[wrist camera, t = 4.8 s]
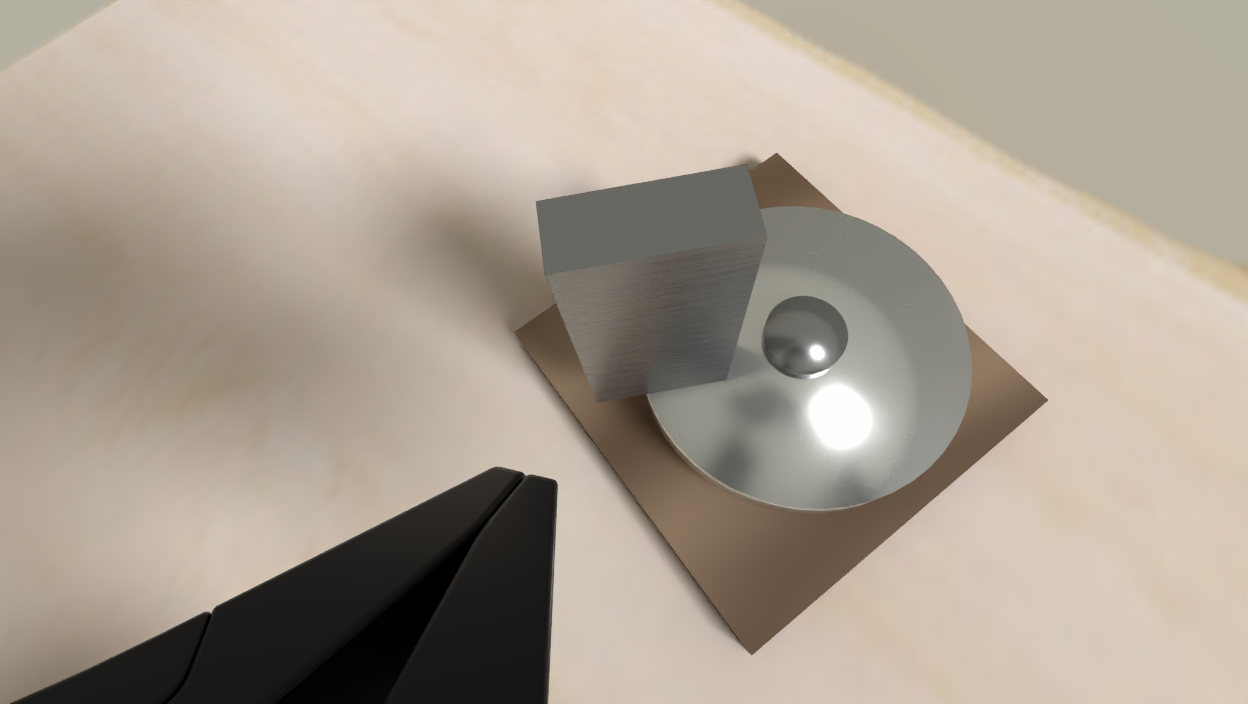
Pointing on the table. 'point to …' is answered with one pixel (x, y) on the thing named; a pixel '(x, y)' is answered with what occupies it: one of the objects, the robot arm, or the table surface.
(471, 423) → the table surface
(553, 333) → the walnut board
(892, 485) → the disc and block
